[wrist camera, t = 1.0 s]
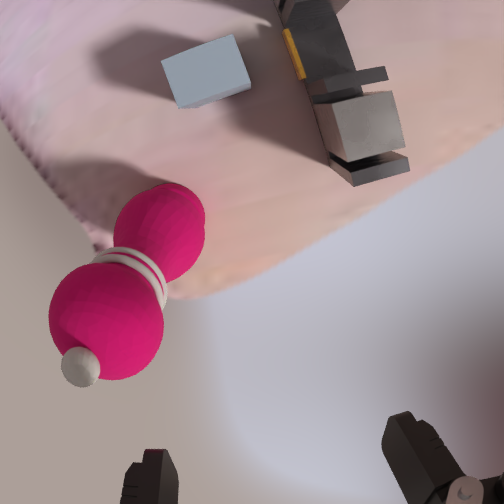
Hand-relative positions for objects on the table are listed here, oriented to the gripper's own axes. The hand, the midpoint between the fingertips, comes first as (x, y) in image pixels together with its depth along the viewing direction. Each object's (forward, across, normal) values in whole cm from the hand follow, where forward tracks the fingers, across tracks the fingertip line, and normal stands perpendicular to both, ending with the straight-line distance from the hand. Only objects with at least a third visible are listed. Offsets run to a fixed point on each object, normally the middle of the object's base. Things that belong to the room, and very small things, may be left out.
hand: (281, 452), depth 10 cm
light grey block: (+20, +1, -16) cm, 26 cm away
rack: (+19, -8, -18) cm, 27 cm away
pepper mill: (+22, +6, -4) cm, 24 cm away
